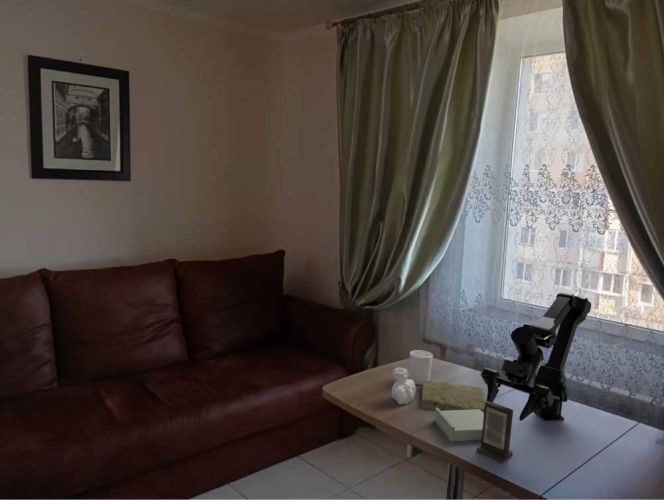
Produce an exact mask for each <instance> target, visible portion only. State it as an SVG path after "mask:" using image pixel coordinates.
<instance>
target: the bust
mask: <svg viewBox="0 0 664 500" xmlns="http://www.w3.org/2000/svg"><path fill="white" fill-rule="evenodd" d="M392 375H393V377H394V379H395V380H396V381H395V382H394V383H393V385H392V387H391V396H392V398H393V399H394V401H396V402H397V403H398V405H408V404H409V403H410V402H412V401H413V400H414V397H415V395H416V392H417V387H416V384H414V381H413V380H411V379H410V378H409V377H410V372H409V371H408V370H407V367H405V368H404V367H395V368H394V369H393V370H392Z"/></svg>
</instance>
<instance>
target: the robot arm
mask: <svg viewBox="0 0 664 500" xmlns="http://www.w3.org/2000/svg"><path fill="white" fill-rule="evenodd" d="M591 309H592V302H591V301H589V298H587V297H584V296H579V295H575V294H574V293H573V294H572V293H569V292H563V291H562V292H557V293H556V297H555V299H554V301H553V303H552V304H551V305H550V307H549V308H548V309H547V310H546V312H544V314H543V316H542V317H541V318H538V319H534V320H533V321H532V322H531V323H529V324H528V323H523V325H522V326H519V327H516V328H515V329H513V330H512V332H511V333H510V340H511V341H512V343H513V345H514V346H513V347H514V348H515V350H516V352H517V353H518V356H517V358H516V359H513V360H510V359H504V361H503V363H502V367H501V370H500V371H501V372H504V376H506V377H507V378H505V377H502V376H501V375H500V373H499V371H498V370H496V369H492V368H489V367H485V368H483V369H482V370H481V373H480V376H481V378H482V380H483V382H484V383H485V384H486V386H487V392H486V393H487V395H486V402H487V401H490V402H493V403H494V401H495V399H496V397H497V396H498V394H499V392H500V390H499V388H500V387H502V386H505V387H508V388H509V389H514V390H517V391H519V392H522V393H525V394H528V398H527V401H526V403H525V405H524V407H523V409H522V410H521V413H520V415H519V416H518V420H519V422H522V421H523V420H525V419H527V417H529V416H530V415H531V414H533V413H535V414H537V415H538V416H539V417H540V418H542V419H543V420H544V421H560V420H563V421H564V419H565V417H564V416H562V408H563V402H564V403H565V402H566V403H567V402H568V398H569V395H570V394H569V393H570V392H569V391H570V390H569V389H568V386H567V384H566V382H567V377H566V374H565V369H564V368H565V366H566V362H567V359H568V356H569V352H570V350H571V347H572V343H573V341H574V338H575V334H576V331H577V328H578V326H579V325H580V324H582V323H583V322H584V321H585V320H586V319H587V316H588V314H589V313H590V312H591ZM556 331H557V332H556ZM542 348H545V349H550V348H551V351H550V354H549V357H548V361H547V362H546V363H545V364H544V365H542V364H541V361H544V360H545V359H544V356H545V355H544V351H543V350H542ZM540 364H541V365H540ZM536 372H537V373H536ZM532 381H533V386H530V385H531V384H532Z"/></svg>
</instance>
